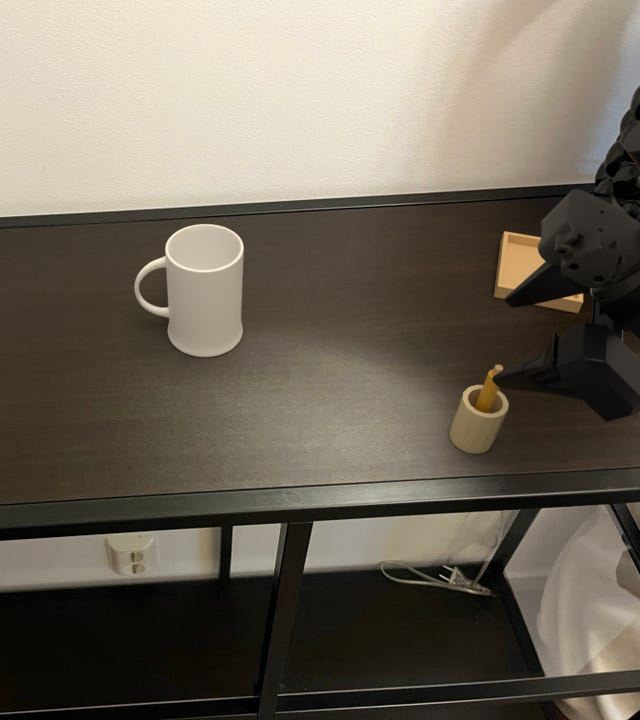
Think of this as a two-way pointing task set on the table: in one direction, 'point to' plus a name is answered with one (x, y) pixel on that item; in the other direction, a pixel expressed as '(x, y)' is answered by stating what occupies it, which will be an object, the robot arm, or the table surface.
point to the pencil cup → (477, 422)
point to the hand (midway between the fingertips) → (501, 341)
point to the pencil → (488, 391)
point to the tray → (525, 269)
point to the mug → (201, 289)
